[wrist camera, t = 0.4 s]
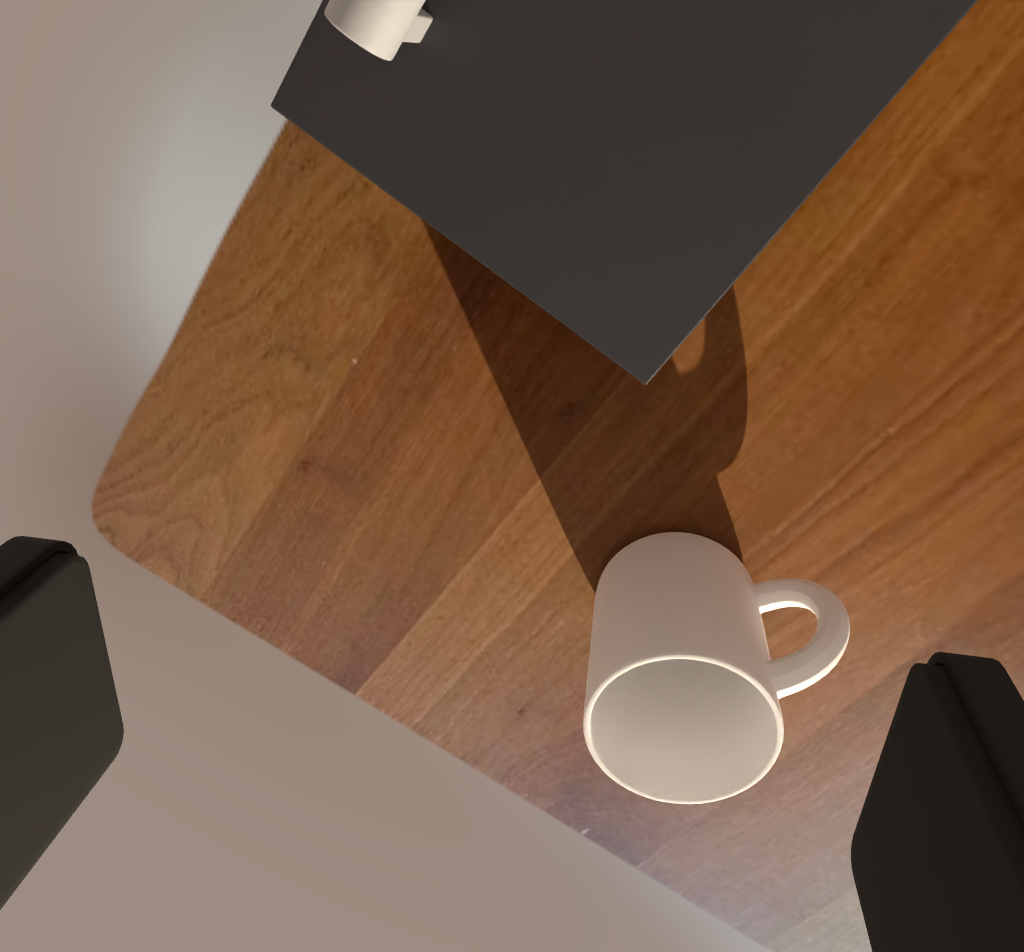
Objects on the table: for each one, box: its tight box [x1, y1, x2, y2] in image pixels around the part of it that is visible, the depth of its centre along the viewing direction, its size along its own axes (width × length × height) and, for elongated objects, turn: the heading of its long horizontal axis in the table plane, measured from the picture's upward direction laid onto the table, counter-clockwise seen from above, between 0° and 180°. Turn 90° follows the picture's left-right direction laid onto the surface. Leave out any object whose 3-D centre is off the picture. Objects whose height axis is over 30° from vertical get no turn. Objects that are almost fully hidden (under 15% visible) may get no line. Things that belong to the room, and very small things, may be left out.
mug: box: [583, 532, 850, 804], centre depth 39 cm, size 12×8×10 cm
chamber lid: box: [271, 0, 978, 384], centre depth 19 cm, size 13×12×5 cm
